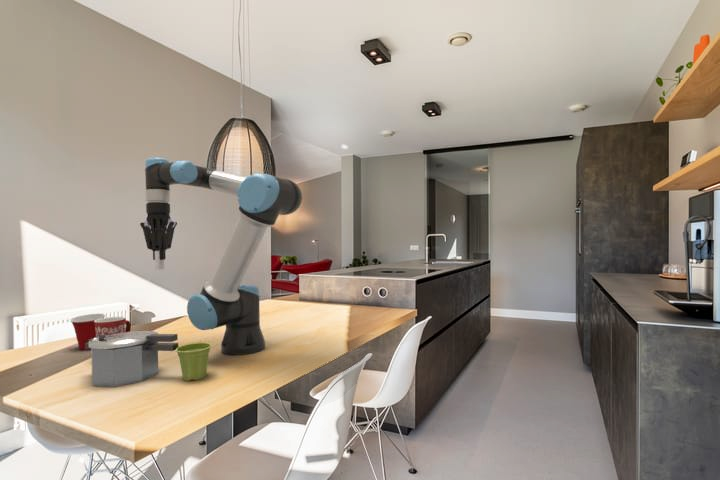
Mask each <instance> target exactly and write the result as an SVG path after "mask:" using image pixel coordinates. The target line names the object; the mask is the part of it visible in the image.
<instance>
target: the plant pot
mask: <svg viewBox="0 0 720 480" xmlns="http://www.w3.org/2000/svg"><path fill="white" fill-rule="evenodd" d="M211 347H212V344H211V343H208V342H195V343H187V344H184V345H180V346H178V348H176V350H175V352H176V353H177V356H178V358H179V364H180V370H181V374H182V379H183V380H184V381H189V382H190V381H192V380H194V381H198V380H201V379H204V378H205V377H206V375H207V370H208V362H209V353H210V352H211V351H210V349H211Z"/></svg>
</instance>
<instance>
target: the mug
mask: <svg viewBox="0 0 720 480" xmlns="http://www.w3.org/2000/svg"><path fill="white" fill-rule="evenodd" d="M94 323H95V330H96V337H99V335H100V334H105V335H106V334H107V335H111V334H117V333H123V332H131V328H132V327H131V325H132V324H131V321H130V320H128V319H127V317H126V316H109V317H104V318H101V319H97V320H95V321H94Z"/></svg>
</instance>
